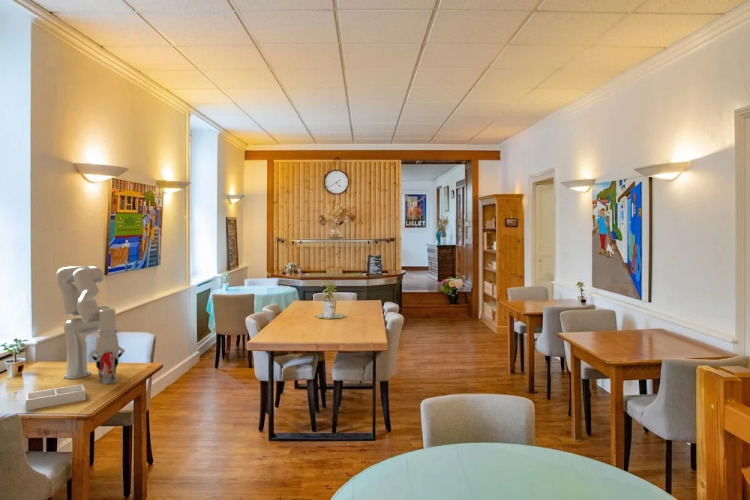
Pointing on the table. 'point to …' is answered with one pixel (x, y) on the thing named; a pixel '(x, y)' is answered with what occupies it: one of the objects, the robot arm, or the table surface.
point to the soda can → (107, 363)
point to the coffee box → (107, 377)
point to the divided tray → (55, 396)
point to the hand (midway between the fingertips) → (107, 367)
